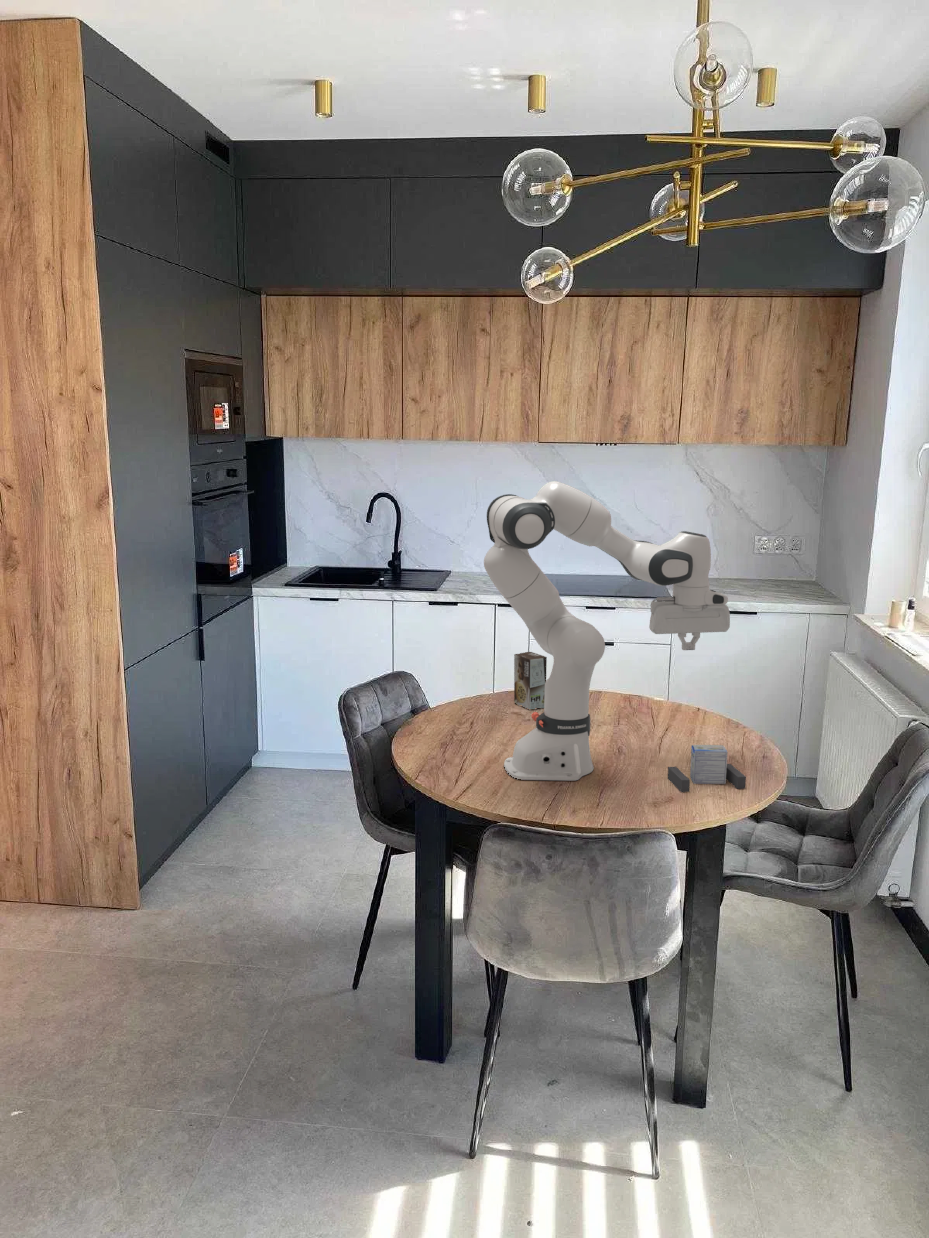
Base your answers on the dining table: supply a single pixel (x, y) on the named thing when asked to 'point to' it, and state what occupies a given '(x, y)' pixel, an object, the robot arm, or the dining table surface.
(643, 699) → the dining table surface
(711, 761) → the medicine box
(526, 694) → the coffee box
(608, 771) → the dining table surface
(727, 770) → the grey blocks
